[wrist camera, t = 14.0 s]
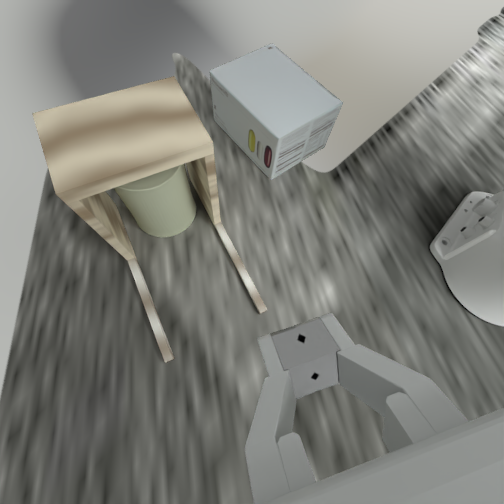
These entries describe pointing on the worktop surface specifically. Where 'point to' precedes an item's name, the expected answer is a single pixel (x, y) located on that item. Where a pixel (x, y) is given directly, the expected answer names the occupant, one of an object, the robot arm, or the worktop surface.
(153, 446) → the worktop surface
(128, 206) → the can
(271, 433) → the robot arm
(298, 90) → the supplement box
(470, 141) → the worktop surface
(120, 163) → the tunnel
